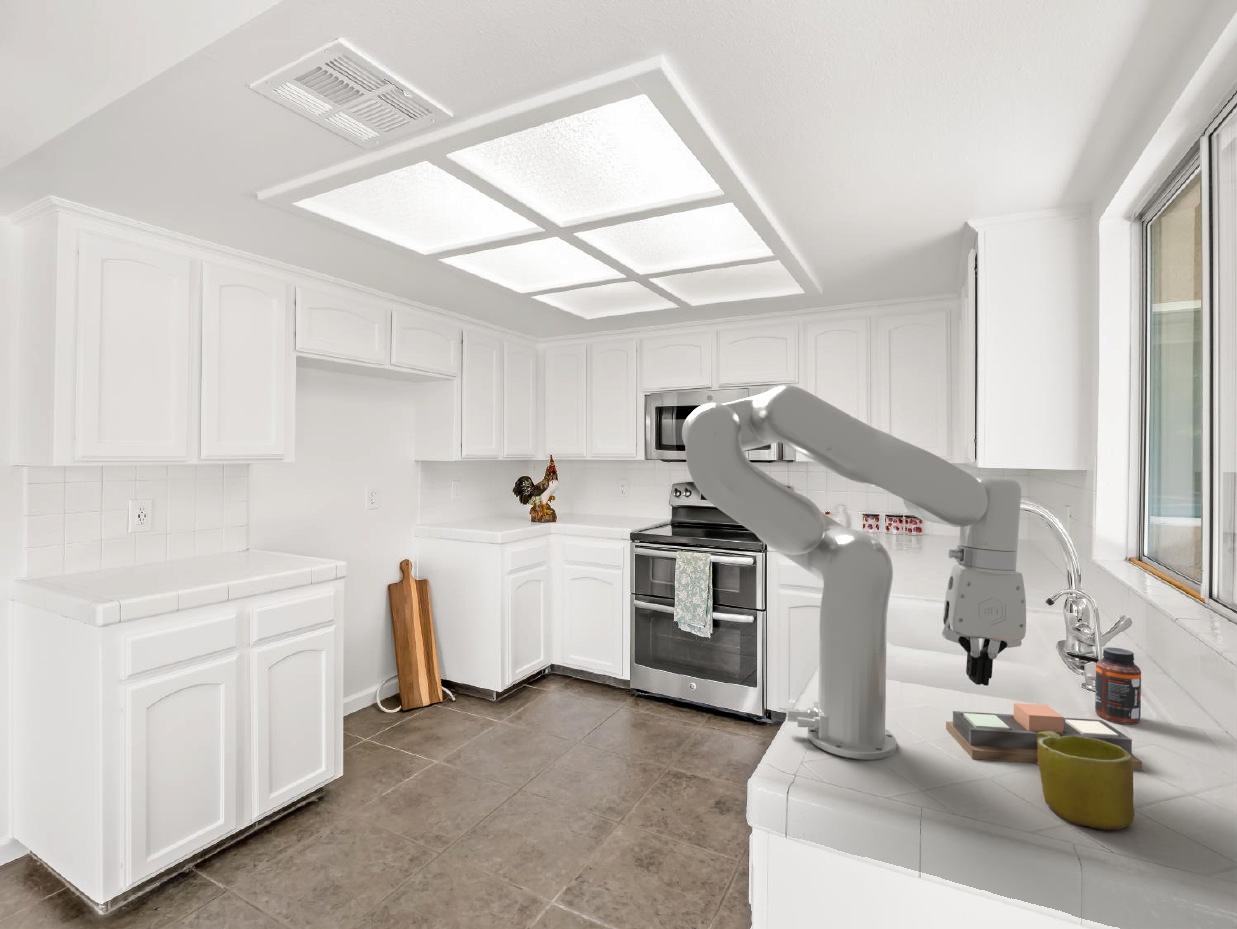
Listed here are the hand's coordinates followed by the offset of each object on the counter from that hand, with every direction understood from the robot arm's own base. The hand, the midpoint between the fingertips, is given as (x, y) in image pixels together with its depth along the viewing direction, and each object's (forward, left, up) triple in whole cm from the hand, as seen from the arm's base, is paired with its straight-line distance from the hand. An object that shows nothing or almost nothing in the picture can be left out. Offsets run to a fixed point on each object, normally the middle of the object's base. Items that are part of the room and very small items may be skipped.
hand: (978, 681), depth 95 cm
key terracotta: (+8, 0, -6) cm, 10 cm away
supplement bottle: (+27, +14, -10) cm, 32 cm away
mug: (+5, -16, -10) cm, 19 cm away
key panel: (+8, 0, -9) cm, 13 cm away
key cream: (+16, 0, -8) cm, 18 cm away
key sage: (+1, 0, -8) cm, 8 cm away
